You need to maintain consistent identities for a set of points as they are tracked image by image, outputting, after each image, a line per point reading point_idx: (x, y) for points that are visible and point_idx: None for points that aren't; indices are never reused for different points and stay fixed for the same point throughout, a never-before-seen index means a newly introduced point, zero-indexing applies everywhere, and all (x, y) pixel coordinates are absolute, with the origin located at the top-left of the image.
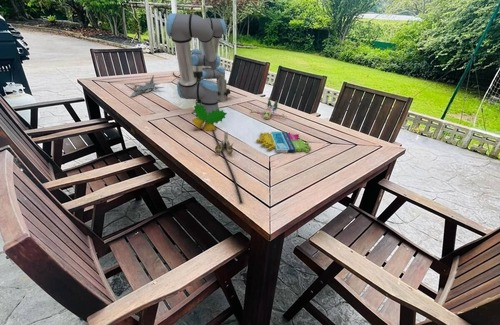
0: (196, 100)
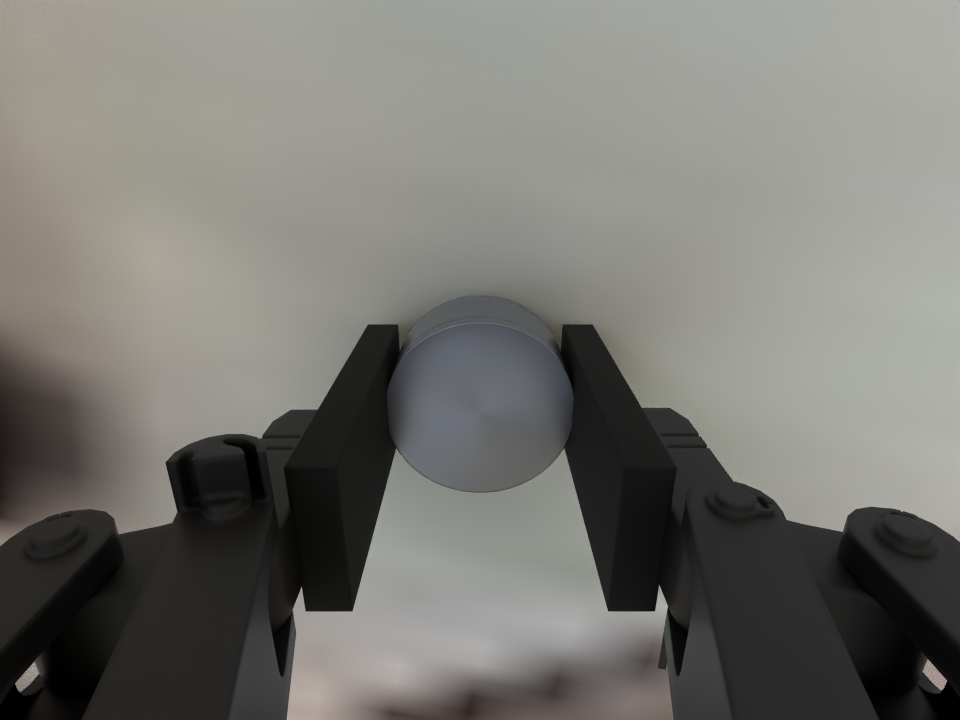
0: (438, 315)
